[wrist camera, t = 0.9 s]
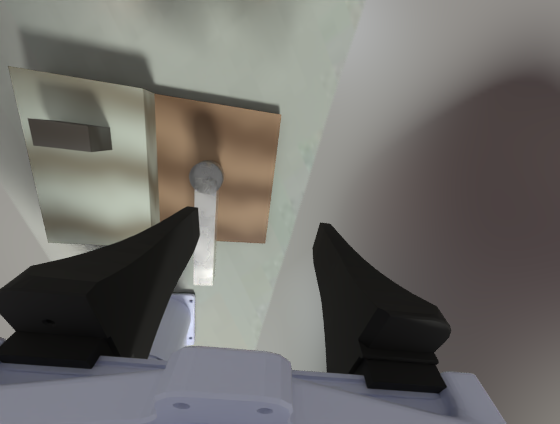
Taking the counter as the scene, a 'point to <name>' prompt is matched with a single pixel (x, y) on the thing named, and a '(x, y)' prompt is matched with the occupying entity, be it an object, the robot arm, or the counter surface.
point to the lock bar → (206, 217)
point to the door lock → (139, 158)
